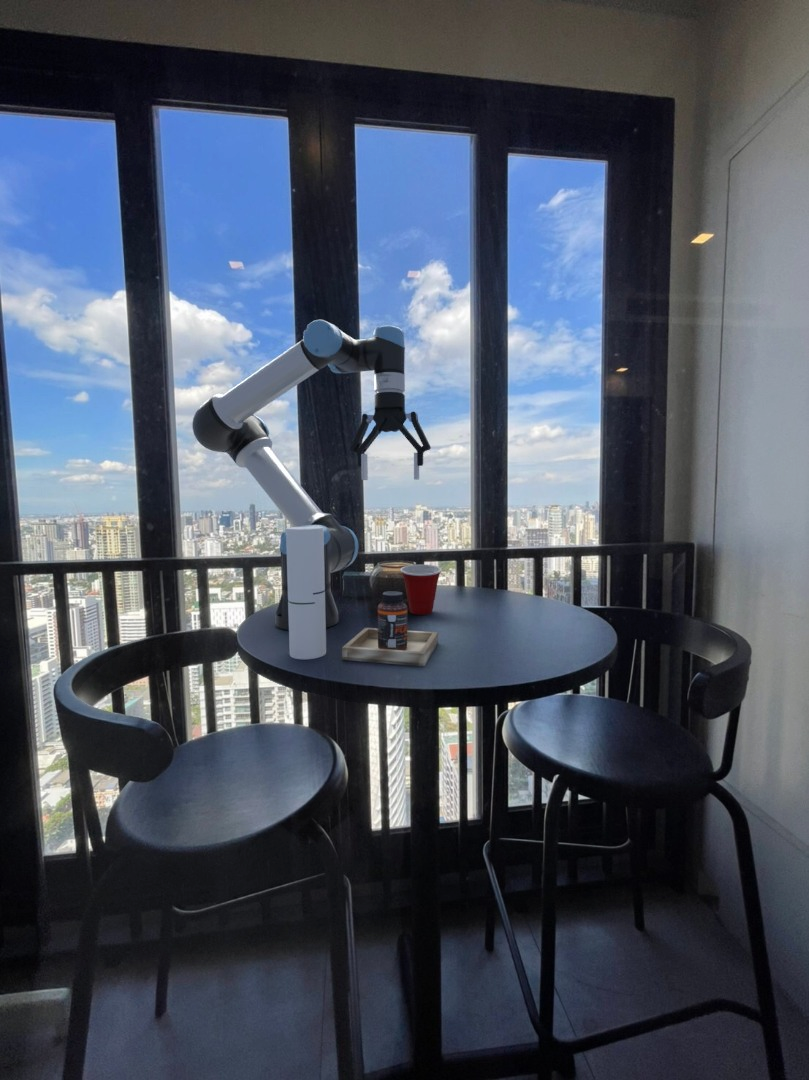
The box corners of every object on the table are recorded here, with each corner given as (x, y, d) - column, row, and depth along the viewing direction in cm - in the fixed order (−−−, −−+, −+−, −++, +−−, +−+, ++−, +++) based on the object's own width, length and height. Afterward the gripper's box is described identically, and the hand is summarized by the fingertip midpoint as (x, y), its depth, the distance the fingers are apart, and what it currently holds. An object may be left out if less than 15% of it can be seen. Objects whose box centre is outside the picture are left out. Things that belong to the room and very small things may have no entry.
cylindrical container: (333, 653, 99) (330, 527, 96) (303, 662, 93) (299, 530, 91) (312, 645, 104) (309, 526, 101) (282, 653, 98) (278, 528, 96)
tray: (342, 659, 95) (342, 647, 94) (365, 638, 108) (365, 627, 108) (424, 666, 91) (424, 653, 91) (437, 643, 104) (437, 632, 104)
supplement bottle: (399, 655, 95) (398, 597, 94) (372, 650, 98) (371, 594, 97) (412, 646, 101) (412, 591, 100) (386, 642, 103) (386, 588, 102)
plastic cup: (398, 617, 126) (398, 570, 124) (402, 607, 136) (401, 564, 135) (441, 618, 125) (441, 571, 124) (441, 608, 136) (441, 564, 134)
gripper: (336, 393, 122) (338, 479, 124) (436, 387, 116) (436, 478, 118) (347, 398, 129) (348, 480, 132) (441, 393, 123) (441, 479, 125)
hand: (390, 479), depth 125 cm, fingers open, 13 cm apart
